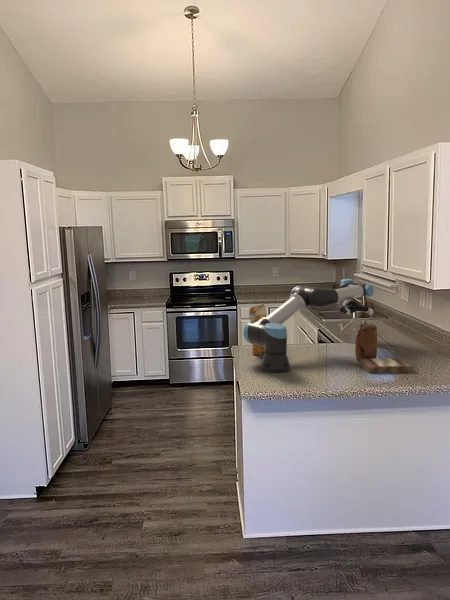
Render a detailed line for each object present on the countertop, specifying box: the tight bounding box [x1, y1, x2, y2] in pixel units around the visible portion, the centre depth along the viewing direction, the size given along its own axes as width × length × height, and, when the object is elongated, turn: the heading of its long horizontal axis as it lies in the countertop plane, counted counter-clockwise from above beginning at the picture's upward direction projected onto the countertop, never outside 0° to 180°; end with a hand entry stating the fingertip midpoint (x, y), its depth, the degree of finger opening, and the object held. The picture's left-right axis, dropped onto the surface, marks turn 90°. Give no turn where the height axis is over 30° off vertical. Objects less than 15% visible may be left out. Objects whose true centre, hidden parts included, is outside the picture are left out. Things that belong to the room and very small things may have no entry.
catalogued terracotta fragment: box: [354, 323, 378, 361], centre depth 261 cm, size 11×8×20 cm
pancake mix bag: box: [248, 303, 268, 356], centre depth 280 cm, size 7×19×28 cm, turn 141°
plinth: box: [359, 357, 413, 374], centre depth 246 cm, size 22×15×3 cm
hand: (361, 312), depth 274 cm, fingers open, 13 cm apart
